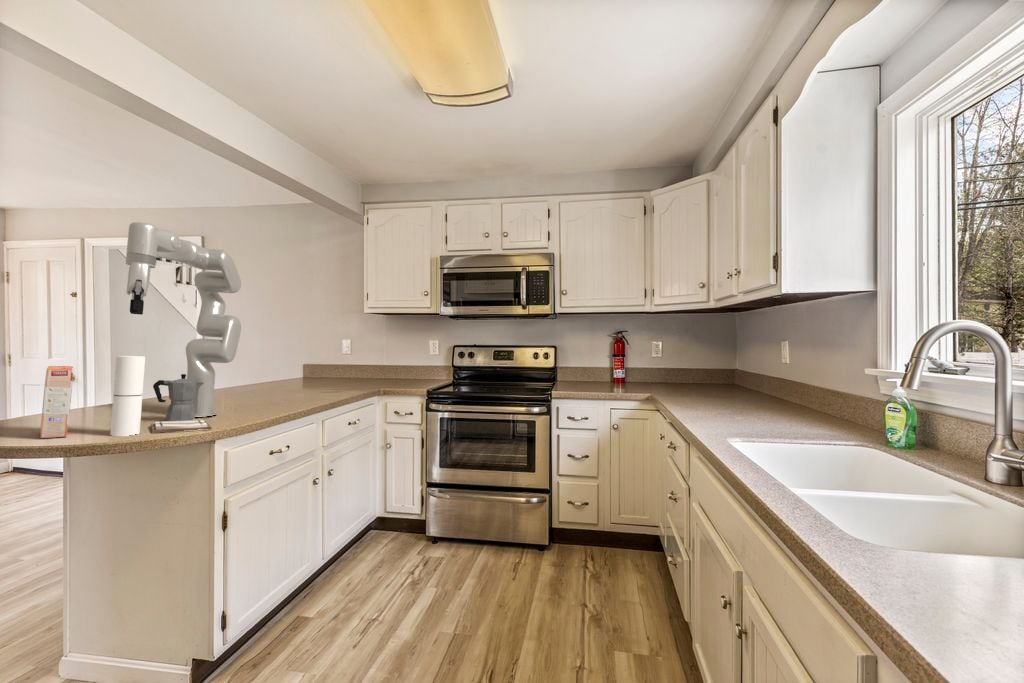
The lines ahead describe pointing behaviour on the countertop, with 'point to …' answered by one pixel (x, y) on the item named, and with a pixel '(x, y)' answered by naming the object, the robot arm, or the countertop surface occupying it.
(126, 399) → the cylindrical container
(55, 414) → the cracker box
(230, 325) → the robot arm
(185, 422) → the notepad
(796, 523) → the countertop surface
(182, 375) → the coffeepot
